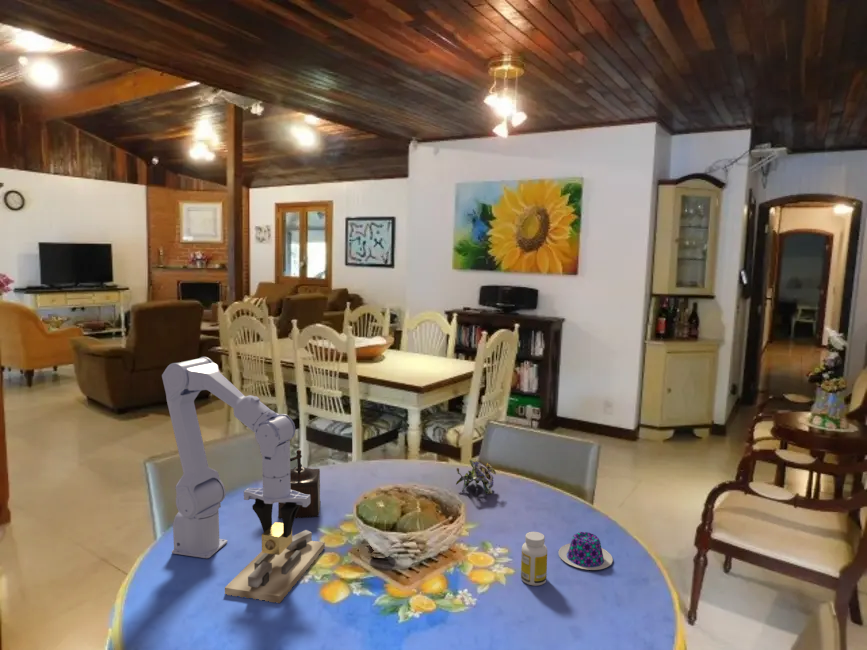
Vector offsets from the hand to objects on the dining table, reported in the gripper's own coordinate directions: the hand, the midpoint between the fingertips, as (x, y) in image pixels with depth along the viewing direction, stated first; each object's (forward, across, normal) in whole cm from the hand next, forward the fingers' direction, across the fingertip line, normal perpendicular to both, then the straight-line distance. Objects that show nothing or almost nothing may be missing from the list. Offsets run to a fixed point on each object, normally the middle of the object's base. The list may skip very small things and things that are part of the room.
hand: (277, 533), depth 127 cm
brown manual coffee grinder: (+8, -11, +28) cm, 31 cm away
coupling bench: (+8, 0, 0) cm, 8 cm away
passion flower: (+8, +35, +52) cm, 63 cm away
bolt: (+9, +17, +17) cm, 26 cm away
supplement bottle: (+8, +54, +10) cm, 56 cm away
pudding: (+9, +65, +22) cm, 69 cm away
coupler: (+3, 0, 0) cm, 3 cm away
